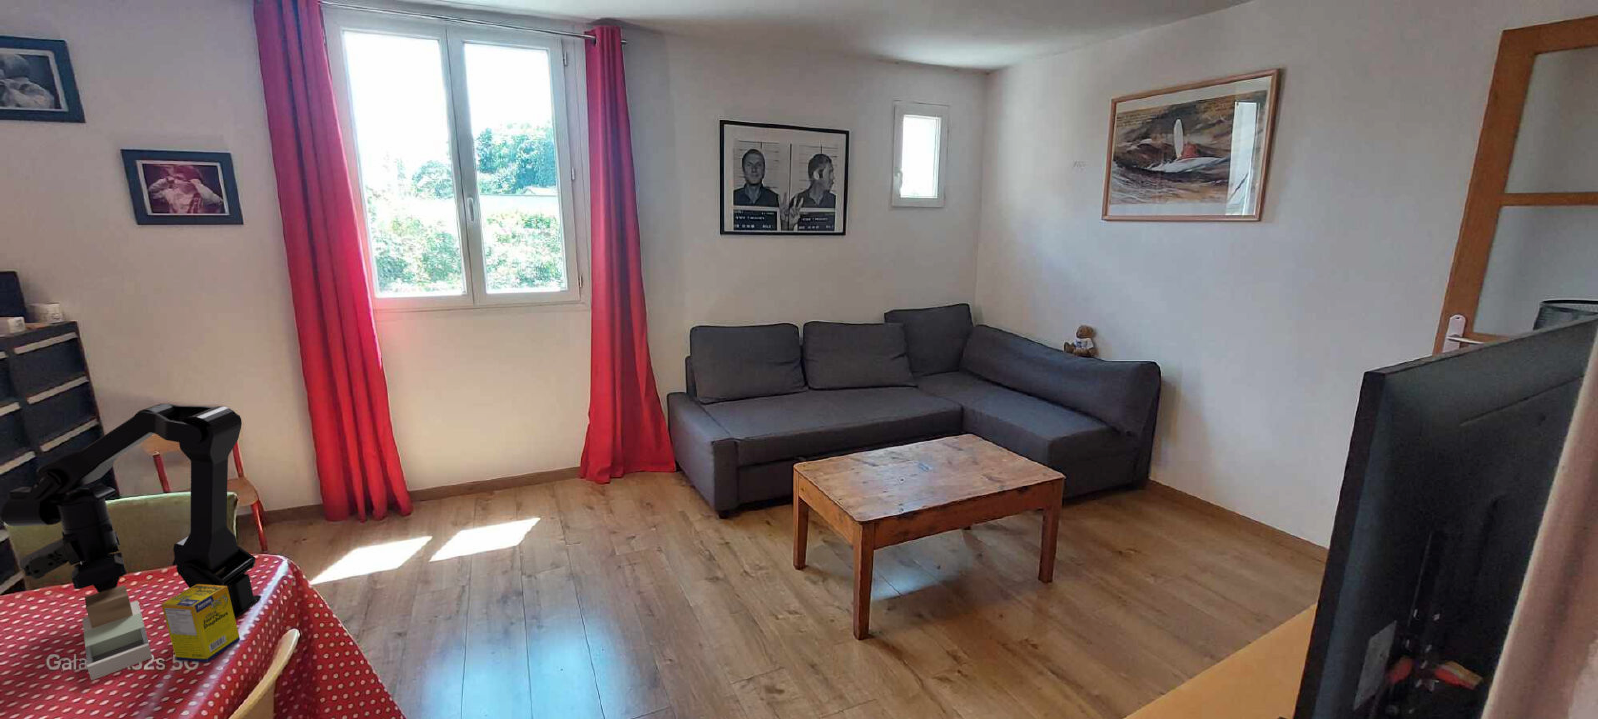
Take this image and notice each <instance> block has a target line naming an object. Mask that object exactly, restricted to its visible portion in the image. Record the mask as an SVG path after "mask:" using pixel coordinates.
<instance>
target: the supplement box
mask: <svg viewBox="0 0 1598 719" xmlns="http://www.w3.org/2000/svg"><path fill="white" fill-rule="evenodd" d="M161 608H162V612H163V615H164V619H165V623H166V626H167V631H168V634H169V637H170V642H171V644H172V649H173V652H174V656H175V660H176V661H178V662H179V661H180V662H181V661H182V662H195V663H197V662H198V663H207V664H208V663H209V662H211V661H212V660H213V659H215V658H216V657H218V656H219V655H221V654H222V653H224V652H225V651H226V650H228V649H230V648H231V647H232V646H233V645H235V644H237V643H238V642H240V640H241V638H240V633H239V630H238V626H237V621H236V618H235V617H234V612H233V608H232V604H231V600H230V596H229V592H228V587H227V586H219V585H204V584H196V585H194V586H193V587H191V588H189V587H188V588H187V589H185V590H184V591H182V592H181V593H178V594H177V595H175V596H173V597H171V598H169V599H168V600H166V601H163V602H162V604H161Z"/></svg>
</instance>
